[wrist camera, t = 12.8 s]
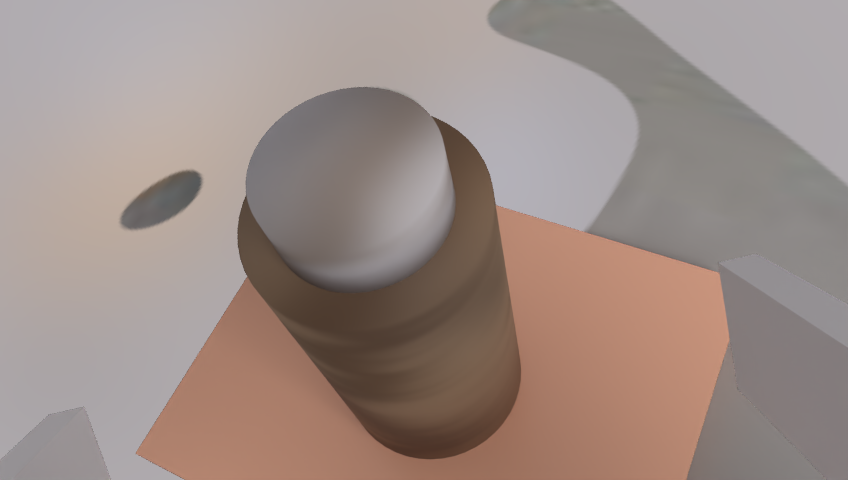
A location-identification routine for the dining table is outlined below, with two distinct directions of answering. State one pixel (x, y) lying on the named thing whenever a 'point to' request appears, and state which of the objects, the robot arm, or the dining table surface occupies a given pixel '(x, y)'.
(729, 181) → the dining table surface
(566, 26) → the dining table surface
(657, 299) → the plate
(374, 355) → the pepper mill
